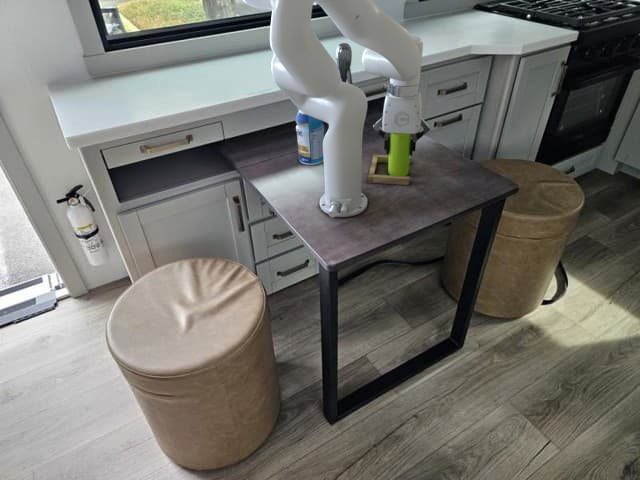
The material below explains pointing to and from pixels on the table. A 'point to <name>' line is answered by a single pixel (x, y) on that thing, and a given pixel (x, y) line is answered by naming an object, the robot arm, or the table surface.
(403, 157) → the soap dispenser
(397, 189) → the table surface
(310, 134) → the blue labeled canister
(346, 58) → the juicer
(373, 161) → the holder
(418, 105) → the robot arm
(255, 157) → the table surface
